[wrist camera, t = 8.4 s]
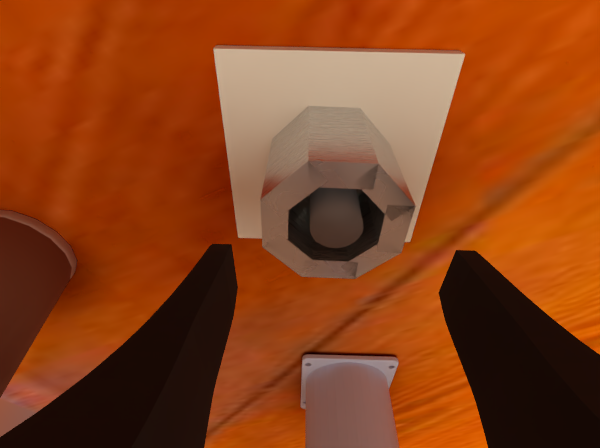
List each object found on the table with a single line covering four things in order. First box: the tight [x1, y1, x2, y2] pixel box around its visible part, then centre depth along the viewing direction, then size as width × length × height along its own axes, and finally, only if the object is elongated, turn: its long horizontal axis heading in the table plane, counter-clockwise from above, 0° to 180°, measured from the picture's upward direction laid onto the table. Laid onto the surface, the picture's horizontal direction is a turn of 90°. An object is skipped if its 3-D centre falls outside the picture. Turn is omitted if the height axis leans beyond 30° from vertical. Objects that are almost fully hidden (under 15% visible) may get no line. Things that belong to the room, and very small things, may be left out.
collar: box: [260, 106, 416, 279], centre depth 15 cm, size 6×6×5 cm
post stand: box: [213, 45, 465, 248], centre depth 15 cm, size 10×10×6 cm
